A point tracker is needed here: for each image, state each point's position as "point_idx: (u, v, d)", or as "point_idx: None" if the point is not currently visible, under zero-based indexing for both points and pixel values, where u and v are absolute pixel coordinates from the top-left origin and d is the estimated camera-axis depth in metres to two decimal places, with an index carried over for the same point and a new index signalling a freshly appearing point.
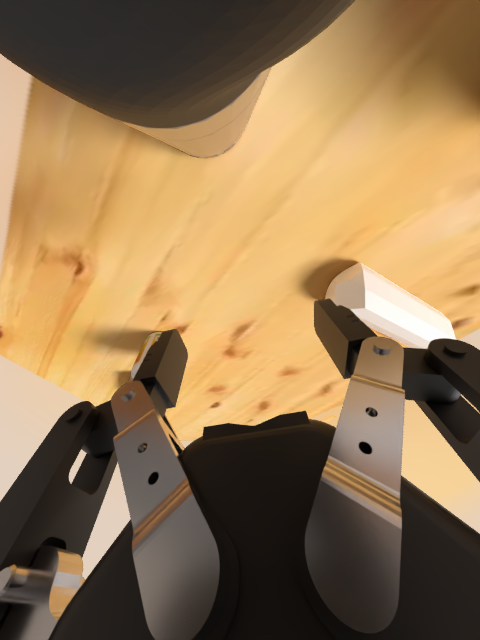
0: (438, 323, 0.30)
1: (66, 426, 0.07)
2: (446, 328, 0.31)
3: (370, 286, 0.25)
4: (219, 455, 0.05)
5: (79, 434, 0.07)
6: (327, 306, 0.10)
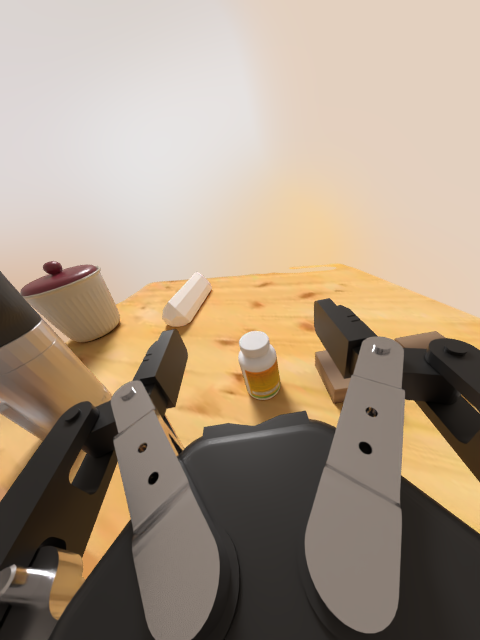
0: None
1: (66, 426, 0.07)
2: None
3: None
4: (219, 455, 0.05)
5: (79, 433, 0.07)
6: (327, 306, 0.10)
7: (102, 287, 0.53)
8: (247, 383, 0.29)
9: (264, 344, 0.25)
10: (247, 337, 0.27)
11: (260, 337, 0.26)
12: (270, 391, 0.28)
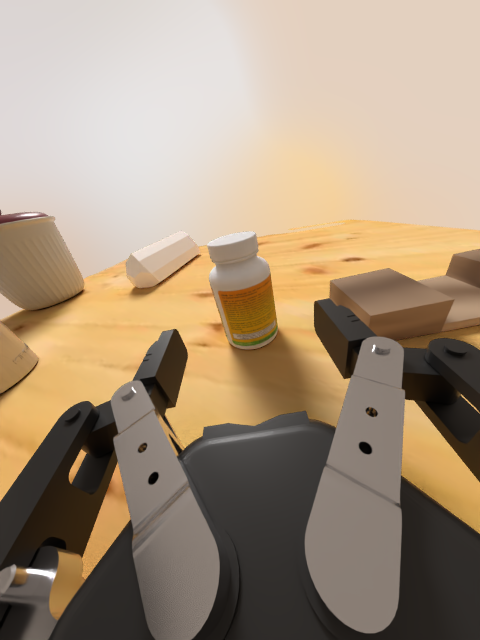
0: None
1: (66, 426, 0.07)
2: None
3: None
4: (219, 455, 0.05)
5: (79, 433, 0.07)
6: (327, 306, 0.10)
7: (55, 240, 0.42)
8: (225, 321, 0.18)
9: (248, 237, 0.14)
10: (222, 238, 0.16)
11: (242, 234, 0.16)
12: (261, 332, 0.18)
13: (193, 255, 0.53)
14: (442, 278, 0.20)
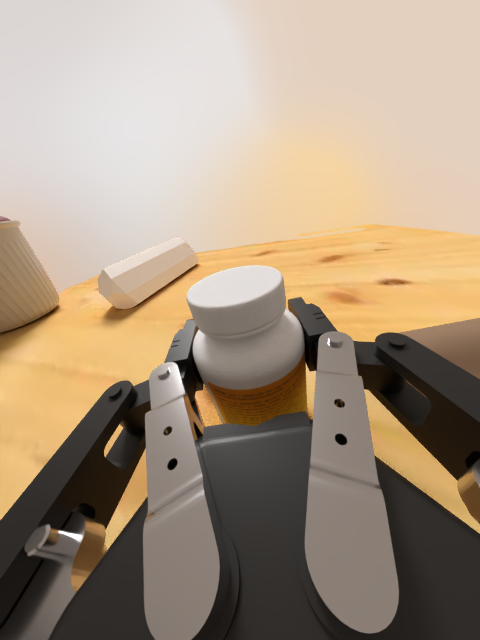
0: None
1: (108, 402, 0.07)
2: None
3: None
4: (219, 455, 0.05)
5: (118, 412, 0.07)
6: (297, 304, 0.10)
7: (18, 249, 0.35)
8: (221, 416, 0.10)
9: (270, 289, 0.07)
10: (216, 279, 0.09)
11: (255, 275, 0.08)
12: None
13: (189, 266, 0.45)
14: None
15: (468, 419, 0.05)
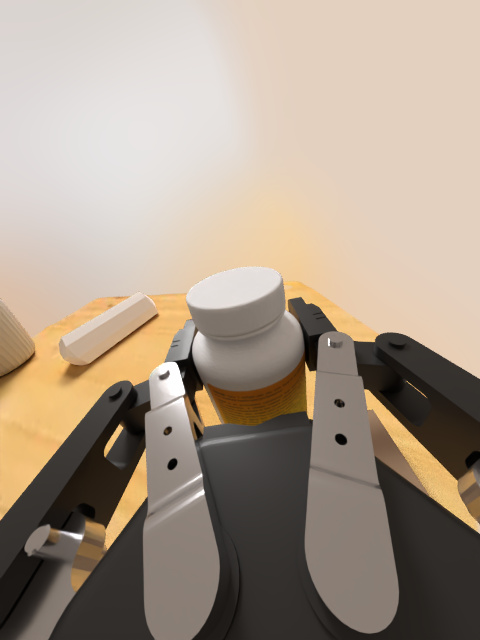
0: None
1: (108, 402, 0.07)
2: None
3: None
4: (219, 455, 0.05)
5: (118, 412, 0.07)
6: (297, 304, 0.10)
7: None
8: (220, 418, 0.10)
9: (270, 291, 0.07)
10: (216, 280, 0.09)
11: (255, 276, 0.08)
12: None
13: (146, 319, 0.53)
14: None
15: (468, 419, 0.05)
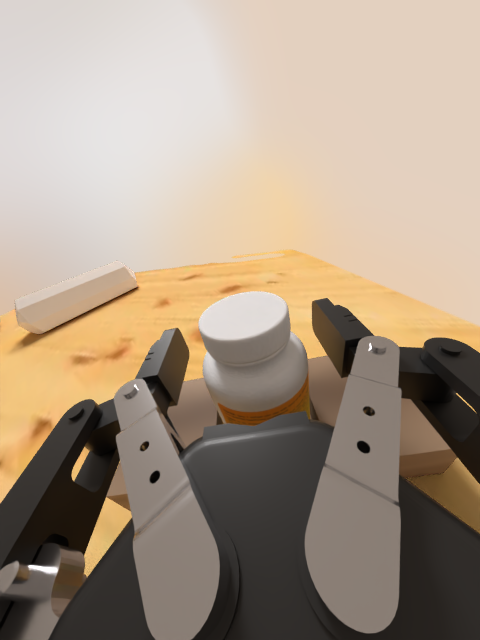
0: None
1: (69, 424, 0.07)
2: None
3: None
4: (219, 455, 0.05)
5: (82, 431, 0.07)
6: (325, 306, 0.10)
7: None
8: None
9: (277, 322, 0.07)
10: (225, 306, 0.09)
11: (262, 304, 0.09)
12: None
13: (122, 291, 0.47)
14: None
15: None
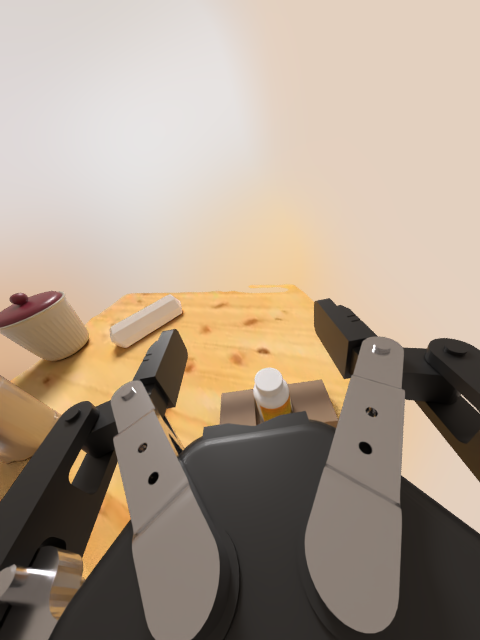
0: None
1: (66, 426, 0.07)
2: None
3: None
4: (219, 455, 0.05)
5: (79, 433, 0.07)
6: (327, 306, 0.10)
7: (66, 313, 0.59)
8: (261, 414, 0.31)
9: (279, 385, 0.27)
10: (262, 374, 0.29)
11: (274, 376, 0.28)
12: None
13: (172, 317, 0.65)
14: None
15: None
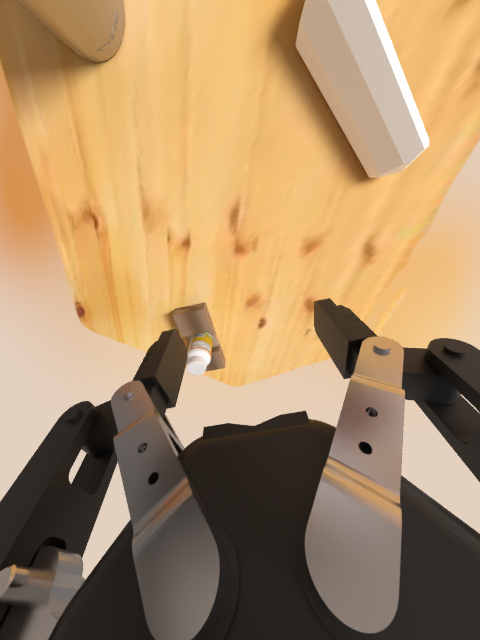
0: None
1: (66, 426, 0.07)
2: None
3: None
4: (219, 455, 0.05)
5: (79, 433, 0.07)
6: (327, 306, 0.10)
7: None
8: (190, 342, 0.45)
9: None
10: (198, 365, 0.40)
11: (198, 371, 0.41)
12: None
13: (359, 156, 0.31)
14: (216, 343, 0.50)
15: None
